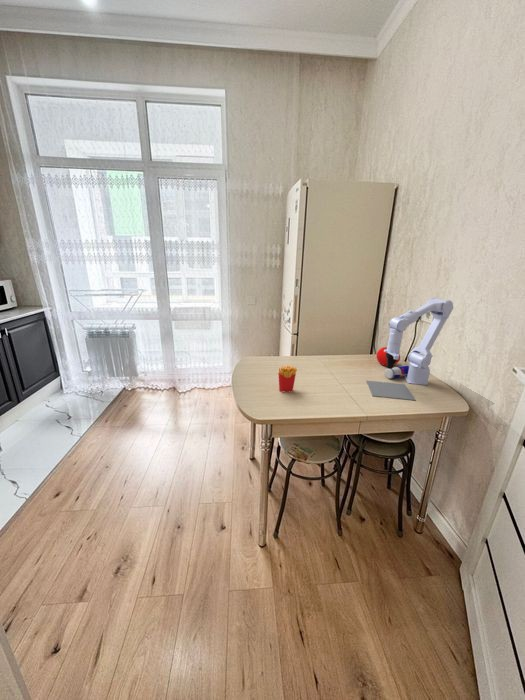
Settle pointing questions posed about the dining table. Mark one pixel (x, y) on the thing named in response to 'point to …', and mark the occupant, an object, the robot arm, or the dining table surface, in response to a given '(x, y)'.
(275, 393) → the dining table surface
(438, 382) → the dining table surface
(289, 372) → the french fries
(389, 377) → the beverage can
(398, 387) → the mat
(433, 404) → the dining table surface
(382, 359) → the tomato
